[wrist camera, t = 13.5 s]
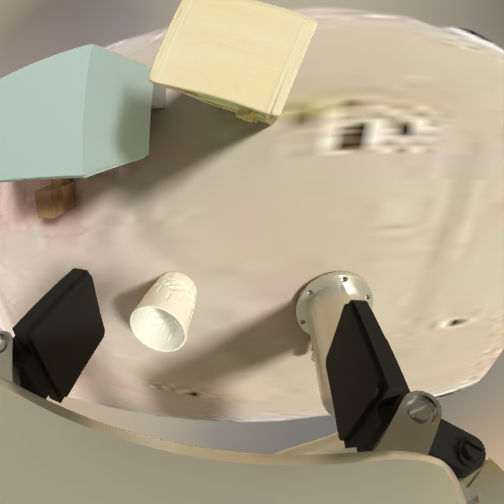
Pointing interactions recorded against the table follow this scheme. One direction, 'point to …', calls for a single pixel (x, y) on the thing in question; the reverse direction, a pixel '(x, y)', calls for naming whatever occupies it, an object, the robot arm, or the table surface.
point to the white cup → (165, 313)
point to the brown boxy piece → (55, 198)
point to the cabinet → (75, 115)
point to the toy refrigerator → (234, 55)
